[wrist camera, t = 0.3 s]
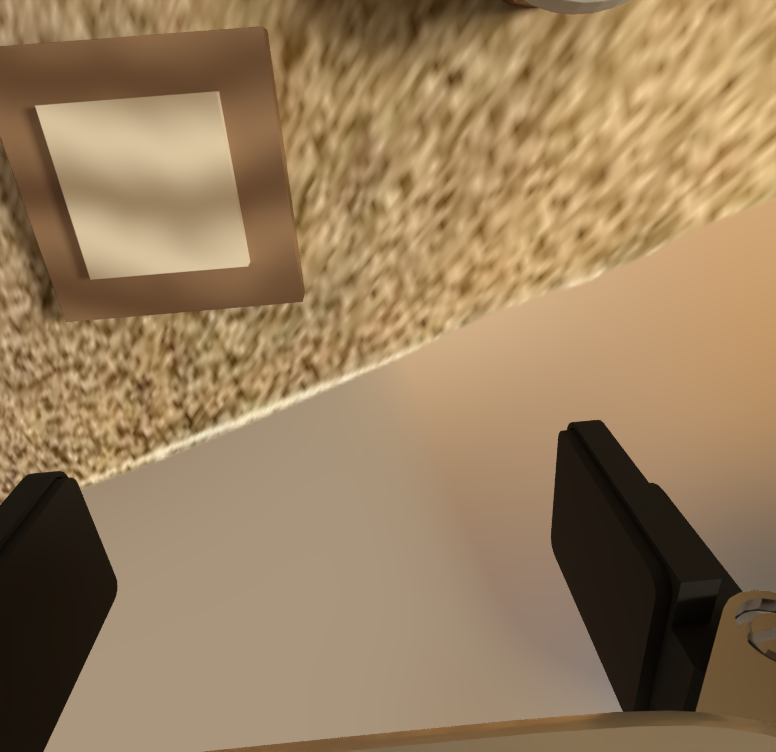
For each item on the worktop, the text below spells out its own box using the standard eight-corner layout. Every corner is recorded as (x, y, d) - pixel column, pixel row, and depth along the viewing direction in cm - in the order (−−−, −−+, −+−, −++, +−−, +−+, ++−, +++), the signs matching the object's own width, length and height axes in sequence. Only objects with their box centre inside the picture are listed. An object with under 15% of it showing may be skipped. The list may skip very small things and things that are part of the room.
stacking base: (-10, 51, 32) (-43, 47, 30) (267, 30, 33) (259, 24, 30) (78, 311, 40) (58, 327, 37) (304, 292, 40) (301, 306, 37)
